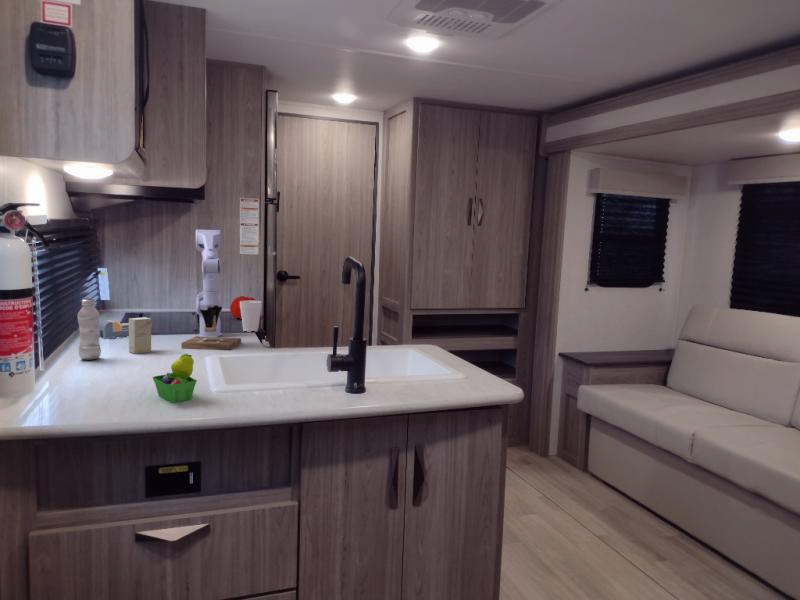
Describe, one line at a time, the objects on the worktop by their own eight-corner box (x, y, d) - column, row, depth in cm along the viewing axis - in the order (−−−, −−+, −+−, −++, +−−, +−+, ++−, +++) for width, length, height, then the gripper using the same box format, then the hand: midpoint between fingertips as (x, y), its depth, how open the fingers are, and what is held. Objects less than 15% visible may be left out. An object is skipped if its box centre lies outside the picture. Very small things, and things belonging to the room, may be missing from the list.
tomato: (262, 320, 281) (262, 297, 280) (233, 321, 274) (233, 297, 272) (254, 316, 292) (255, 294, 291) (227, 317, 285) (227, 294, 284)
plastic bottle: (91, 362, 183) (90, 301, 181) (73, 360, 185) (71, 299, 182) (105, 358, 190) (104, 299, 187) (88, 356, 191) (86, 297, 189)
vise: (107, 340, 220) (107, 323, 219) (96, 336, 226) (95, 320, 226) (152, 335, 234) (152, 319, 233) (140, 331, 240) (140, 316, 239)
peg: (207, 330, 217) (207, 314, 216) (217, 330, 216) (217, 315, 216) (202, 332, 213) (202, 316, 212) (213, 332, 212) (212, 316, 212)
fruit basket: (151, 395, 150) (150, 353, 149) (184, 389, 156) (183, 349, 155) (169, 405, 142) (168, 361, 141) (202, 399, 148) (202, 356, 147)
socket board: (196, 341, 223) (196, 335, 223) (241, 343, 223) (241, 337, 223) (181, 348, 210) (181, 342, 209) (229, 350, 209) (229, 344, 209)
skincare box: (134, 354, 197) (134, 319, 196) (128, 352, 200) (127, 318, 198) (152, 351, 202) (151, 318, 201) (145, 349, 205) (145, 316, 203)
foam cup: (239, 329, 254) (239, 300, 253) (260, 328, 257) (260, 300, 255) (240, 332, 245) (240, 303, 244) (261, 332, 248) (262, 303, 246)
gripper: (207, 288, 220) (207, 323, 222) (193, 292, 206) (193, 329, 207) (225, 289, 220) (225, 323, 221) (212, 293, 206) (212, 329, 207)
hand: (211, 326), depth 214 cm, fingers closed on peg, 4 cm apart
